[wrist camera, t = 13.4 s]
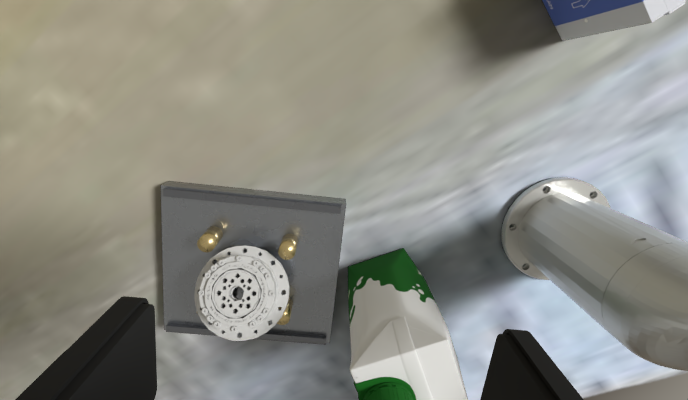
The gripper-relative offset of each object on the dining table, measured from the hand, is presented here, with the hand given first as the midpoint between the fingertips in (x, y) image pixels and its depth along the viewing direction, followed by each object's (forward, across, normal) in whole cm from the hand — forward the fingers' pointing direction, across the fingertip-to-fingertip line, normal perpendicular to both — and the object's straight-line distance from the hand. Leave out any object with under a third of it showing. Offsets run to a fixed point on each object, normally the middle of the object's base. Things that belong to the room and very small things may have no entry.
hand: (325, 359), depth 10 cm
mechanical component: (+29, +8, +16) cm, 34 cm away
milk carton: (+34, -8, +15) cm, 38 cm away
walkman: (+34, -21, -18) cm, 43 cm away
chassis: (+33, +8, +14) cm, 37 cm away
